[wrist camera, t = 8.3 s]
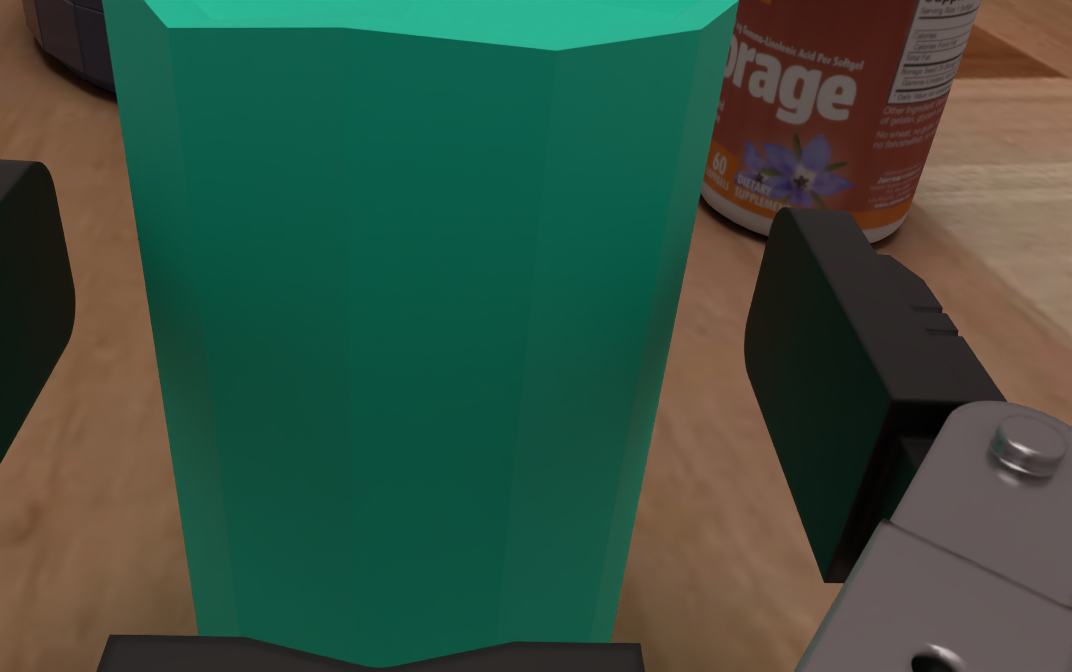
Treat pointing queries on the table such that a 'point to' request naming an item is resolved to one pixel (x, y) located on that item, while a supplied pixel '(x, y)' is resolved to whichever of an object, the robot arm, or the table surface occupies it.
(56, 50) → the bowl
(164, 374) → the candle
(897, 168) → the pill bottle
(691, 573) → the table surface
